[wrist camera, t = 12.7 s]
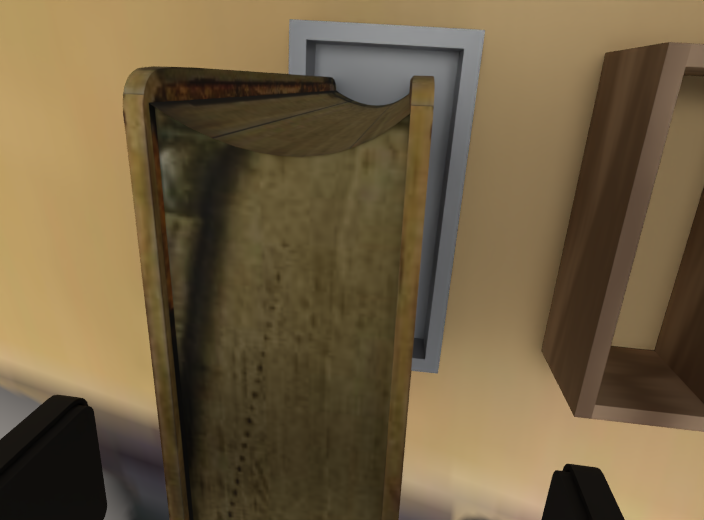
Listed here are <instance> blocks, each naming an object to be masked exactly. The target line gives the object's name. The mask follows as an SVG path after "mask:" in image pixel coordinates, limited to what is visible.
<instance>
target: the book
mask: <svg viewBox="0 0 704 520" xmlns="http://www.w3.org/2000/svg"><path fill="white" fill-rule="evenodd" d="M434 91H435V81H434V76H415V75H414V76H413V77H412V78H411V80H410V91H409V94H408V95H406V96H405V97H403V98H402V99H400V100H398V101H396V102H394V103H391V104H387V105H379V106H376V105H367V104H363V103H359V102H357V101H354V100H352V99H350V98H348V97H346V96H344V95H342V94H341V93H339V92H338V91H336V83H335V80H334V79H333V78H332V77H322V76H307V75H293V74H278V73H263V72H249V71H234V70H219V69H205V68H187V67H145V68H138V69H136V70H134V71H133V72H132V73H131V74H130V75H129V77H128V79H127V81H126V84H125V87H124V93H123V116H124V123H125V131H126V140H127V148H128V157H129V166H130V175H131V183H132V192H133V201H134V209H135V218H136V227H137V236H138V244H139V253H140V262H141V271H142V279H143V288H144V297H145V306H146V315H147V323H148V332H149V341H150V350H151V359H152V367H153V376H154V385H155V394H156V403H157V411H158V420H159V429H160V438H161V447H162V455H163V464H164V473H165V482H166V491H167V499H168V508H169V517H170V520H398V518H399V506H400V495H401V483H402V472H403V460H404V448H405V437H406V425H407V413H408V402H409V390H410V379H411V367H412V355H413V344H414V332H415V320H416V309H417V297H418V286H419V274H420V262H421V251H422V239H423V227H424V216H425V204H426V193H427V181H428V169H429V158H430V146H431V135H432V123H433V109H434Z"/></svg>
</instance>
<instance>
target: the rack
mask: <svg viewBox="0 0 704 520" xmlns="http://www.w3.org/2000/svg"><path fill="white" fill-rule="evenodd" d="M683 75H691V76H704V44H691V43H673V42H668V43H662V44H656V45H650V46H644V47H638V48H632V49H626V50H620V51H614V52H608V53H606V54H605V59H604V63H603V68H602V73H601V77H600V82H599V87H598V91H597V96H596V101H595V105H594V110H593V114H592V119H591V124H590V128H589V133H588V138H587V142H586V147H585V152H584V156H583V161H582V165H581V170H580V175H579V179H578V184H577V189H576V193H575V198H574V203H573V207H572V212H571V217H570V221H569V226H568V230H567V235H566V240H565V244H564V249H563V254H562V258H561V263H560V268H559V272H558V277H557V281H556V286H555V291H554V295H553V300H552V305H551V309H550V314H549V319H548V323H547V328H546V332H545V337H544V342H543V346H542V353H543V355H544V357H545V359H546V361H547V363H548V365H549V367H550V369H551V371H552V373H553V375H554V377H555V379H556V381H557V383H558V385H559V387H560V389H561V391H562V393H563V395H564V397H565V399H566V401H567V403H568V405H569V407H570V409H571V411H572V413H573V415H574V417H581V418H589V419H598V420H607V421H615V422H624V423H633V424H641V425H650V426H659V427H667V428H676V429H685V430H693V431H702V432H704V189H703V192H702V196H701V199H700V202H699V206H698V209H697V212H696V216H695V219H694V222H693V225H692V229H691V232H690V235H689V239H688V242H687V245H686V249H685V252H684V255H683V258H682V262H681V265H680V268H679V272H678V275H677V278H676V282H675V285H674V288H673V291H672V295H671V298H670V301H669V305H668V308H667V311H666V315H665V318H664V321H663V324H662V328H661V331H660V334H659V338H658V341H657V344H656V348H655V351H652V350H642V349H632V348H623V347H613V346H611V343H612V340H613V336H614V332H615V328H616V325H617V321H618V317H619V313H620V310H621V306H622V302H623V299H624V295H625V291H626V287H627V284H628V280H629V276H630V272H631V269H632V265H633V261H634V258H635V254H636V250H637V246H638V243H639V239H640V235H641V231H642V228H643V224H644V220H645V217H646V213H647V209H648V205H649V202H650V198H651V194H652V190H653V187H654V183H655V179H656V175H657V172H658V168H659V164H660V161H661V157H662V153H663V149H664V146H665V142H666V138H667V134H668V131H669V127H670V123H671V120H672V116H673V112H674V108H675V105H676V101H677V97H678V93H679V90H680V86H681V82H682V79H683Z"/></svg>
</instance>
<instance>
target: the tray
mask: <svg viewBox="0 0 704 520" xmlns="http://www.w3.org/2000/svg"><path fill="white" fill-rule="evenodd" d="M484 35H485V30H475V29H457V28H439V27H420V26H402V25H384V24H366V23H347V22H329V21H311V20H293V19H290V24H289V74H293V75H307V76H322V77H332V78H333V79H334V80H335V83H336V91H338V92H339V93H341V94H342V95H344V96H346V97H348V98H350V99H352V100H354V101H357V102H359V103H363V104H367V105H376V106H379V105H387V104H391V103H394V102H396V101H398V100H400V99H402V98H403V97H405V96H406V95H408V94H409V91H410V80H411V78H412V77H413V76H414V75H415V76H434V81H435V91H434V109H433V123H432V135H431V146H430V158H429V169H428V181H427V193H426V204H425V216H424V227H423V239H422V251H421V262H420V274H419V286H418V297H417V309H416V320H415V332H414V344H413V355H412V367H411V371H420V372H429V373H438V368H439V361H440V354H441V347H442V339H443V332H444V325H445V318H446V310H447V303H448V296H449V289H450V281H451V274H452V267H453V260H454V252H455V245H456V238H457V231H458V223H459V216H460V209H461V201H462V194H463V187H464V180H465V172H466V165H467V158H468V151H469V143H470V136H471V129H472V122H473V114H474V107H475V100H476V93H477V85H478V78H479V71H480V64H481V56H482V49H483V42H484Z"/></svg>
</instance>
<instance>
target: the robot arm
mask: <svg viewBox="0 0 704 520" xmlns="http://www.w3.org/2000/svg"><path fill="white" fill-rule="evenodd" d="M106 510H107V500H106V493H105V486H104V479H103V472H102V465H101V458H100V451H99V444H98V437H97V430H96V423H95V416H94V411H93V409H92V407H89V406H88V404H87V401H86V400H85V399H83V398H78V397H71V396H63V395H54V396H52V397H50V398H49V399H47V400H46V401H45V402H44V403H43V404H42V405H40V406H39V407H38V408H37V409H36V410H35V411H33V412H32V413H31V414H30V415H29V416H28V417H27V418H25V419H24V420H23V421H22V422H21V423H19V424H18V425H17V426H16V427H15V428H13V429H12V430H11V431H10V432H9V433H8V434H6V435H5V436H4V437H3V438H2V439H1V440H0V520H103V519H104V517H105V514H106ZM542 520H625V519H624V517H623V515H622V513H621V511H620V509H619V507H618V505H617V502H616V500H615V498H614V496H613V494H612V492H611V490H610V487H609V485H608V483H607V481H606V479H605V477H604V475H603V473H602V471H601V470H600V469H599V468H596V467H588V466H581V465H574V464H566V465H565V466H564V468H563V471H558V470H556V471H555V472H554V473H553V476H552V480H551V484H550V488H549V492H548V496H547V500H546V504H545V508H544V512H543V516H542Z"/></svg>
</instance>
